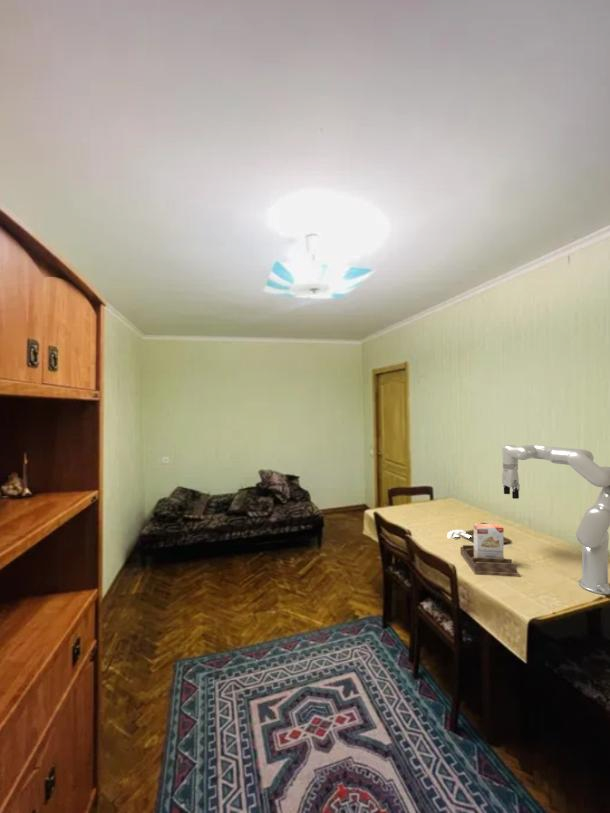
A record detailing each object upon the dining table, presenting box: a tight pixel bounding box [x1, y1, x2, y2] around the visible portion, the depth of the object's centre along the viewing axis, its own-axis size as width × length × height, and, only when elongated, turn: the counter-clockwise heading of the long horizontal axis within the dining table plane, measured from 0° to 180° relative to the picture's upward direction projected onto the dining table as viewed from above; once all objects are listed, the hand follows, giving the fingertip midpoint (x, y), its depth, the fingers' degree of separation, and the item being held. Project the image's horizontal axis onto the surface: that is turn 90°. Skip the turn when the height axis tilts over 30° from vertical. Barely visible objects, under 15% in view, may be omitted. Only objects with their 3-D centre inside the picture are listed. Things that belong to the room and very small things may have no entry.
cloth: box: [446, 529, 473, 540], centre depth 230 cm, size 20×22×2 cm
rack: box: [460, 544, 521, 578], centre depth 188 cm, size 22×24×6 cm
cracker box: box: [473, 523, 505, 559], centre depth 188 cm, size 14×6×21 cm, turn 83°
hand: (511, 496), depth 194 cm, fingers open, 9 cm apart
